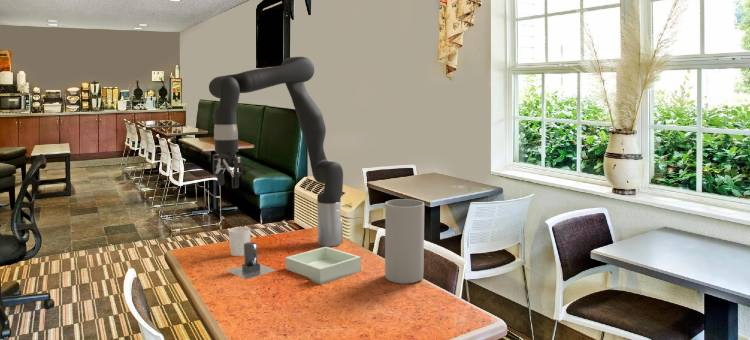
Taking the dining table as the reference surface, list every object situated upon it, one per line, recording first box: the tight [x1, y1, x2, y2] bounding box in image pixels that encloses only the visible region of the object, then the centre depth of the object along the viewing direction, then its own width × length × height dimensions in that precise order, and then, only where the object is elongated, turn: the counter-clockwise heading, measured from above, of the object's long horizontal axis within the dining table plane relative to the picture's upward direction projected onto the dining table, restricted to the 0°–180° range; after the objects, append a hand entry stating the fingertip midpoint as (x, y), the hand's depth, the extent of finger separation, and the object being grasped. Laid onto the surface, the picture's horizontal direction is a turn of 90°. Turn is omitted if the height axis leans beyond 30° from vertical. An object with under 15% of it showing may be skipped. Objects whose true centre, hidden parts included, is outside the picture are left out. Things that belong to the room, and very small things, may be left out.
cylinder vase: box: [384, 198, 425, 285], centre depth 174 cm, size 12×12×25 cm
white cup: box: [228, 226, 252, 257], centre depth 199 cm, size 8×8×10 cm
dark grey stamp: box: [241, 241, 261, 273], centre depth 179 cm, size 4×4×9 cm
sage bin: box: [284, 246, 362, 286], centre depth 182 cm, size 18×18×5 cm
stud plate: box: [226, 262, 277, 280], centre depth 180 cm, size 12×12×3 cm
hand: (228, 186), depth 179 cm, fingers open, 8 cm apart
